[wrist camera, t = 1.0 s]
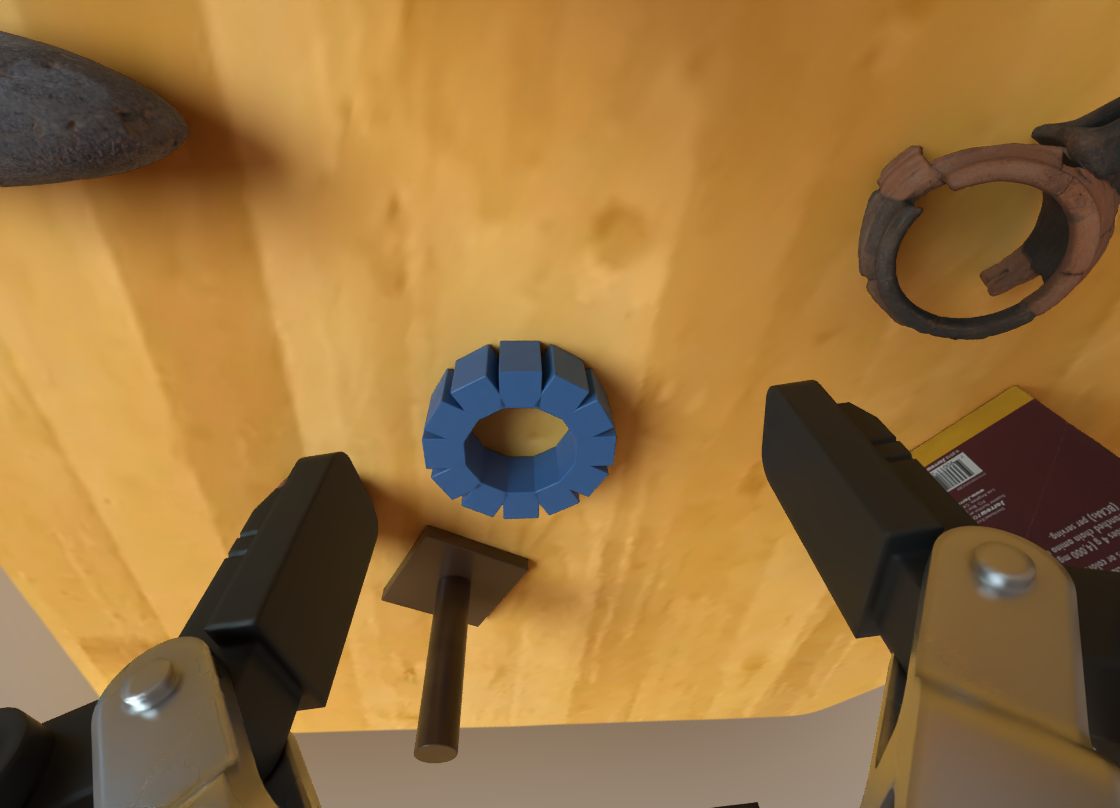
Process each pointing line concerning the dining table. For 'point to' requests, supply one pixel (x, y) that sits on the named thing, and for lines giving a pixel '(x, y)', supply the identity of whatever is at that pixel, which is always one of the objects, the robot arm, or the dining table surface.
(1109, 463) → the supplement box
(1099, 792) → the robot arm
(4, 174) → the perforated stone tool
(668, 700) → the dining table surface
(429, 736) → the post
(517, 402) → the ring
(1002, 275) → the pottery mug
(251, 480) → the dining table surface
